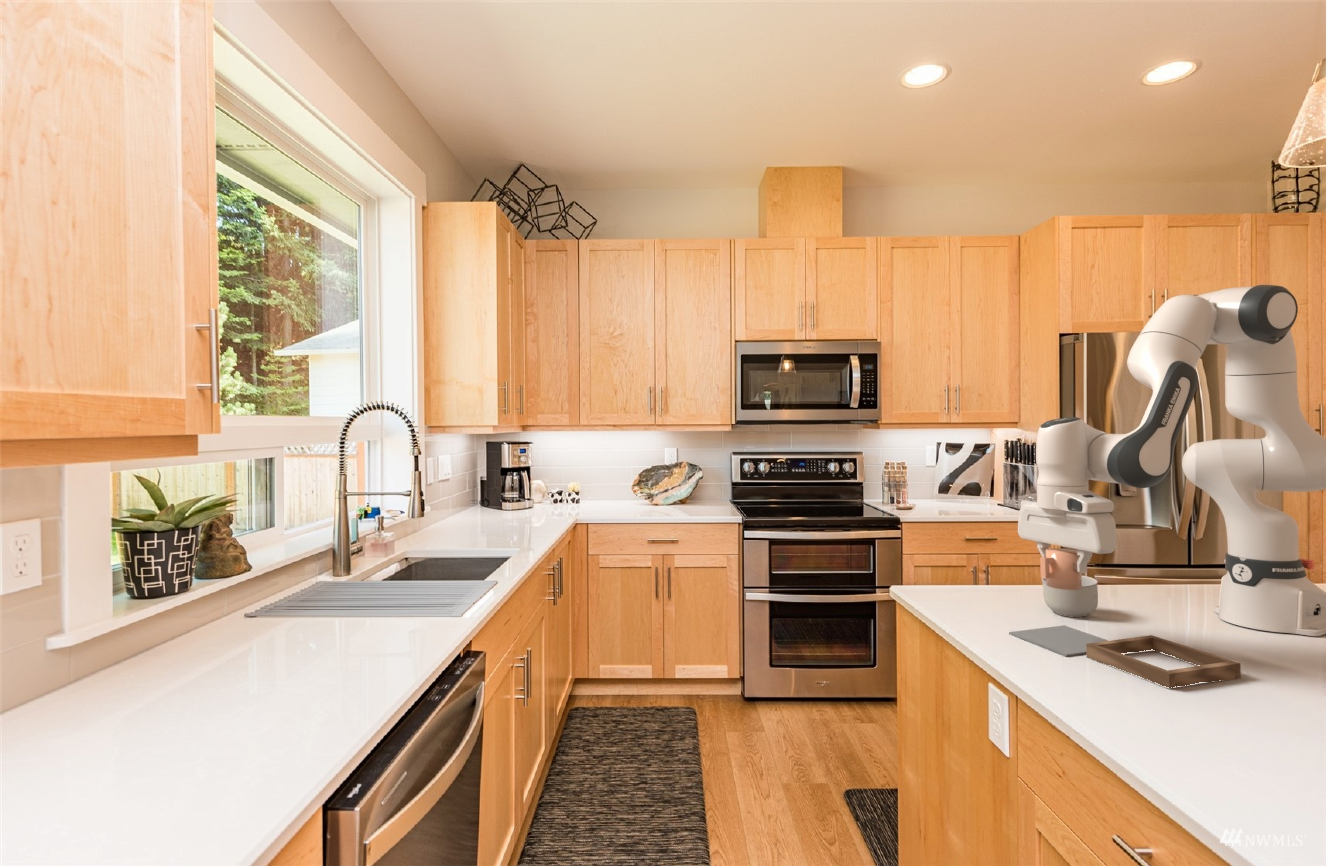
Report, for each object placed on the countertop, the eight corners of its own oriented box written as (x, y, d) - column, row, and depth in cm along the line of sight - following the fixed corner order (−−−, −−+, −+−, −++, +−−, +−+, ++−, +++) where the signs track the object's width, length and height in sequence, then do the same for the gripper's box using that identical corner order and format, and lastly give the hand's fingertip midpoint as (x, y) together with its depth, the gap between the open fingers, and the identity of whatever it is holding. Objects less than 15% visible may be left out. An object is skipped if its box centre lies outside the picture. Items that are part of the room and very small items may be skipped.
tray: (1151, 648, 124) (1151, 635, 124) (1240, 677, 109) (1240, 663, 109) (1086, 657, 120) (1086, 643, 120) (1169, 689, 105) (1169, 673, 105)
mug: (1063, 581, 132) (1062, 547, 132) (1089, 588, 127) (1088, 552, 127) (1031, 584, 130) (1030, 550, 130) (1056, 591, 125) (1055, 555, 125)
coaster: (1064, 627, 138) (1064, 625, 138) (1125, 648, 124) (1125, 646, 124) (1009, 633, 134) (1009, 632, 134) (1066, 656, 121) (1066, 654, 121)
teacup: (1107, 621, 141) (1106, 584, 141) (1052, 619, 143) (1052, 583, 143) (1080, 603, 155) (1079, 570, 154) (1030, 602, 157) (1029, 569, 157)
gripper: (1009, 495, 138) (1010, 559, 138) (1094, 505, 118) (1096, 580, 118) (1033, 493, 140) (1035, 557, 140) (1122, 503, 120) (1123, 578, 120)
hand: (1064, 568), depth 129 cm, fingers closed on mug, 6 cm apart
